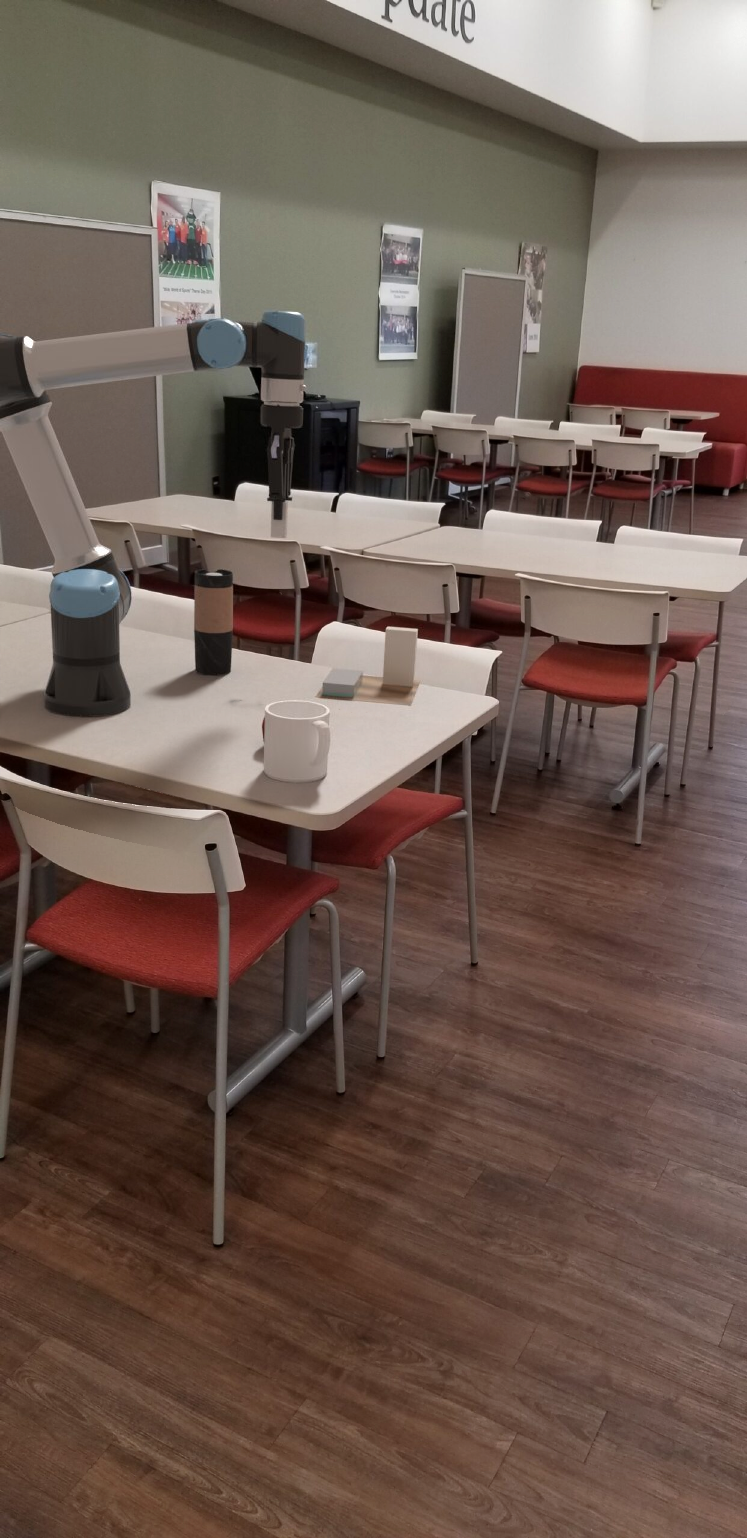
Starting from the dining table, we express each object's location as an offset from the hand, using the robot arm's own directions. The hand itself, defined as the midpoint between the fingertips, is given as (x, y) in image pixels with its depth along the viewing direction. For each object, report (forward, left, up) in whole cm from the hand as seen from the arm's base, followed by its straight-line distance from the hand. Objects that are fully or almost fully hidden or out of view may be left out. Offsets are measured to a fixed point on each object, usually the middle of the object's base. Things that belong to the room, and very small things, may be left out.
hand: (278, 536), depth 220 cm
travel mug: (+10, +15, -30) cm, 35 cm away
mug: (-45, -14, -30) cm, 56 cm away
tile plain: (+8, -23, -28) cm, 37 cm away
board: (+3, -18, -29) cm, 35 cm away
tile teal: (+7, -13, -27) cm, 31 cm away
